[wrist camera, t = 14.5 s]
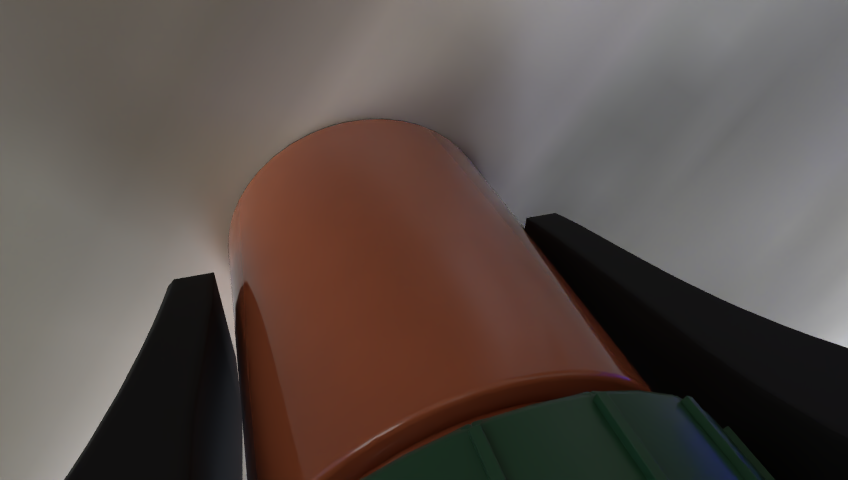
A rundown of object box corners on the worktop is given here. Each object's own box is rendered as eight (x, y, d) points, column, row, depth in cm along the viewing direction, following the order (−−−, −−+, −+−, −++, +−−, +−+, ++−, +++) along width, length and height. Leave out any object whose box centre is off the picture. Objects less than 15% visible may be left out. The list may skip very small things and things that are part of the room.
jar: (175, 177, 9) (150, 761, 4) (464, 78, 10) (835, 443, 4) (286, 364, 13) (365, 823, 7) (498, 282, 13) (731, 640, 8)
